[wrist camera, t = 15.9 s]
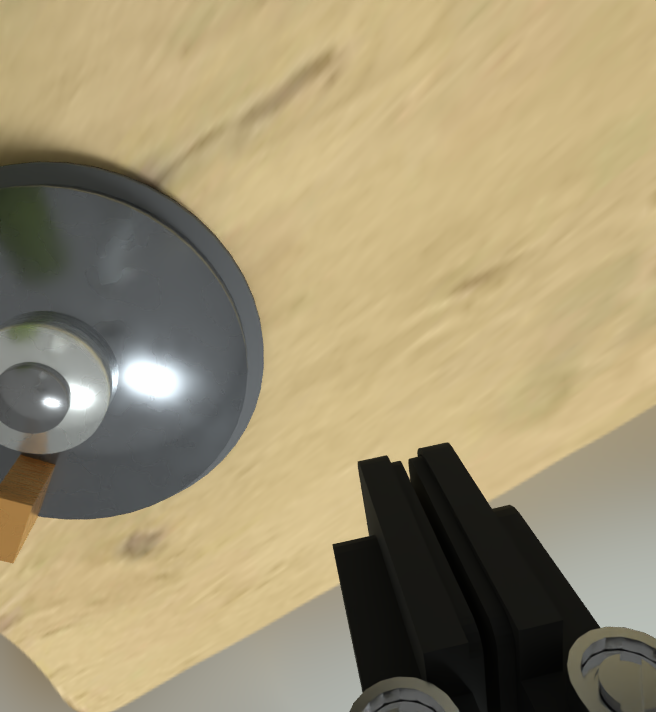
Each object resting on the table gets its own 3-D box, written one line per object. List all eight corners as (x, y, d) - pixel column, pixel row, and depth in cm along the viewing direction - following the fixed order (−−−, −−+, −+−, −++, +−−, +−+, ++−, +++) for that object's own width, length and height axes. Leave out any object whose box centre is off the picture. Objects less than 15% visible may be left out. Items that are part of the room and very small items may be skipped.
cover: (0, 291, 29) (-33, 313, 26) (134, 337, 31) (120, 363, 28) (-29, 404, 31) (-63, 439, 28) (98, 440, 33) (81, 477, 30)
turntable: (-80, 114, 27) (-154, 111, 22) (299, 272, 33) (309, 299, 28) (-149, 451, 33) (-220, 509, 28) (182, 537, 38) (172, 599, 33)
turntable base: (-207, 202, 29) (-226, 205, 28) (218, 128, 30) (216, 128, 29) (-32, 535, 38) (-41, 549, 36) (292, 466, 39) (293, 477, 38)
